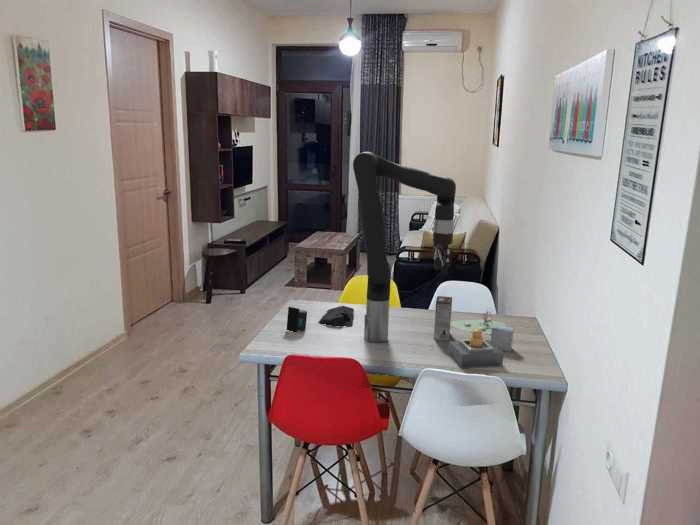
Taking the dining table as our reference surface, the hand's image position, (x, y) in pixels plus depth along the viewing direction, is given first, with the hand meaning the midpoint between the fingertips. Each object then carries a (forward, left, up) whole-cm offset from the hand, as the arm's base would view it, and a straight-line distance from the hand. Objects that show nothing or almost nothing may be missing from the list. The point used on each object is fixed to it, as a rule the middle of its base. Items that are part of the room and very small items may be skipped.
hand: (440, 272), depth 216 cm
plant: (+26, +20, -31) cm, 45 cm away
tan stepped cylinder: (+10, -15, -25) cm, 31 cm away
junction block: (+10, -16, -30) cm, 35 cm away
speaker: (-53, +24, -30) cm, 66 cm away
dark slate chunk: (-33, +37, -31) cm, 59 cm away
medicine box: (+25, -6, -30) cm, 40 cm away
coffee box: (+6, +10, -30) cm, 32 cm away
